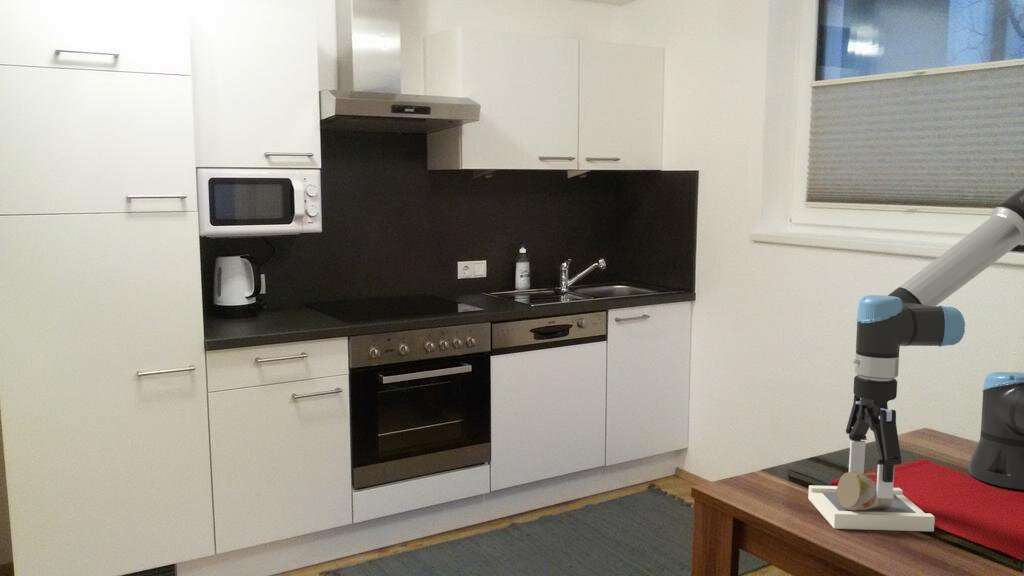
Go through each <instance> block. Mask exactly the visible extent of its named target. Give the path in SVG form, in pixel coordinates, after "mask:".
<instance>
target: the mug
mask: <svg viewBox="0 0 1024 576" xmlns="http://www.w3.org/2000/svg"><path fill="white" fill-rule="evenodd" d="M870 477H874V478H876V479H877V472H868V473H857V472H849V471H847V472H845V473H843V474H842V475H841V477H839V481H838V484H837V486H838V487H837V497H838V500H839V502H840V504H841V505H842V506H843V507H844V508H845V509H848V510H851V511H863V510H867V509H871V508H876V507H878V508H883V509H887V508H889V507H891V506H892V504H893V502H894V495H893V498H877V497H876V487H877V482H875V481H874V480H872V479H871V478H870Z"/></svg>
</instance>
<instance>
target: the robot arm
mask: <svg viewBox="0 0 1024 576" xmlns="http://www.w3.org/2000/svg"><path fill="white" fill-rule="evenodd" d="M1018 245H1019V246H1024V187H1023V188H1020V190H1018V191H1016V192H1015V193H1013V194H1012V195H1011V196H1010V197H1008V198H1006V199H1005V200H1003V201H1002V202H1001V203H1000V204H999V205H997V206H996V207H994V208H993V209H992V210H991V212H990V217H989V218H988V219H987V220H985V221H984V222H983V223H981V224H980V225H979V226H978V227H976V228H975V229H973V230H972V231H971V232H970V233H968V234H967V235H965V236H964V237H963V238H962V239H960V240H959V241H958V242H956V243H955V244H954V245H952V246H951V247H949V248H948V249H947V250H946V251H945V252H943V253H942V254H941V255H939V256H938V257H937V258H935V259H934V260H933V261H932V262H930V263H929V264H928V265H926V266H925V267H924V268H922V269H921V270H920V271H918V272H917V273H916V274H914V275H913V276H912V277H910V278H909V279H907V280H906V281H905V282H904V283H902V284H901V285H899V287H897V288H896V289H894V290H893V291H892V292H889V294H888V295H879V294H878V295H877V294H876V295H875V294H873V295H872V294H870V295H863V296H862V297H861V298H860V299H859V301H858V307H857V314H856V315H857V316H856V335H855V336H856V343H855V358H854V359H853V360H852V363H853V365H854V374H856V375H855V376H854V378H853V395H854V396H853V403H852V408H851V411H850V414H849V418H848V422H847V425H846V428H845V433H846V434H847V435H848V439H849V440H850V441H849V456H848V457H849V460H848V472H857V473H861V474H865V458H866V455H865V454H866V444H867V443H866V441H867V440H868V439H867V436H866V435H867V433H868V431H869V429H870V431H872V432H873V436H874V440H875V444H876V447H877V448H876V449H877V452H878V458H879V460H877V462H876V464H877V470H876V471H877V472H876V473H877V478H876V484H877V487H876V497H877V498H893V488H894V479H895V466H897V465H899V466H900V465H902V456H901V451H900V449H901V448H900V442H899V435H898V428H897V427H898V426H897V410H896V409H889V408H888V407H889V406H888V402H890V401H893V400H895V399H896V398H897V395H898V394H897V392H898V380H897V379H896V378H898V376H899V369H900V368H899V367H900V366H899V364H900V348H901V347H907V346H908V347H909V346H910V347H911V346H912V347H913V346H915V347H916V346H917V347H918V346H919V347H922V346H923V347H924V346H925V347H927V346H929V347H939V348H941V347H945V346H946V347H947V346H954V345H957V344H958V343H960V342H961V340H962V339H963V337H964V335H965V331H966V330H965V329H966V322H965V318H964V316H963V313H962V312H961V311H960V310H959V309H958V308H956V307H954V306H944V305H940V304H941V303H942V302H944V301H945V300H946V299H948V298H949V297H951V296H952V295H953V294H955V293H956V292H957V291H958V290H960V289H961V288H963V286H965V285H966V284H968V283H969V282H971V281H972V280H974V278H976V277H977V276H978V275H980V274H981V273H982V272H983V271H985V270H986V269H988V268H990V266H991V265H993V264H994V263H996V262H997V261H999V260H1000V259H1001V258H1002V257H1004V256H1005V255H1007V254H1008V253H1009V252H1010V251H1012V250H1013V249H1014V248H1016V247H1017V246H1018ZM981 406H982V407H981V422H980V433H979V434H980V435H979V440H978V443H977V445H976V446H975V449H974V451H973V454H972V455H971V457H970V460H968V473H969V475H971V476H972V477H974V479H977V480H979V481H981V482H984V483H987V484H991V485H993V486H998V487H1002V488H1009V489H1014V490H1015V489H1017V490H1024V372H1020V371H1019V372H1017V371H1016V372H1014V371H1011V372H1010V371H1004V372H1003V371H1001V372H999V371H998V372H990V373H988V374H987V375H986V376H985V378H984V383H983V388H982V405H981Z"/></svg>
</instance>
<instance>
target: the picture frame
mask: <svg viewBox="0 0 1024 576" xmlns="http://www.w3.org/2000/svg"><path fill="white" fill-rule="evenodd" d="M837 487H838V485H811V484H810V485H808V495H807V496H808V498H807V499H808V500H809V501H810V503H811V504H812V505H813V506H814V507H815V508H816V509H817V510H818V512H820V514H821V515H822V516H823V518H824V519H825V520H827V522H828V523H829V524H830V526H832V528H833V529H838V530H839V529H840V530H842V529H843V530H865V531H867V530H870V531H872V530H874V531H875V530H876V531H904V532H905V531H907V532H909V531H910V532H934V531H935V523H936V522H935V520H936V517H935V516H934V515H933V514H932V513H925V512H924V511H923V510H922V509H921V508H919V506H917V505H916V504H915V503H913V502H912V501H911V500H910V499H909V498H908V497H906V495H904V493H903V492H904V490H903V489H901V488H900V487H893V495H894V502H893V504H892V506H891V507H889V508H887V509H883V508H878V507H876V508H871V509H867V510H863V511H851V510H848V509H845V508H844V507H843V506H842V505H841V504H840V502H839V500H838V497H837Z"/></svg>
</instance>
